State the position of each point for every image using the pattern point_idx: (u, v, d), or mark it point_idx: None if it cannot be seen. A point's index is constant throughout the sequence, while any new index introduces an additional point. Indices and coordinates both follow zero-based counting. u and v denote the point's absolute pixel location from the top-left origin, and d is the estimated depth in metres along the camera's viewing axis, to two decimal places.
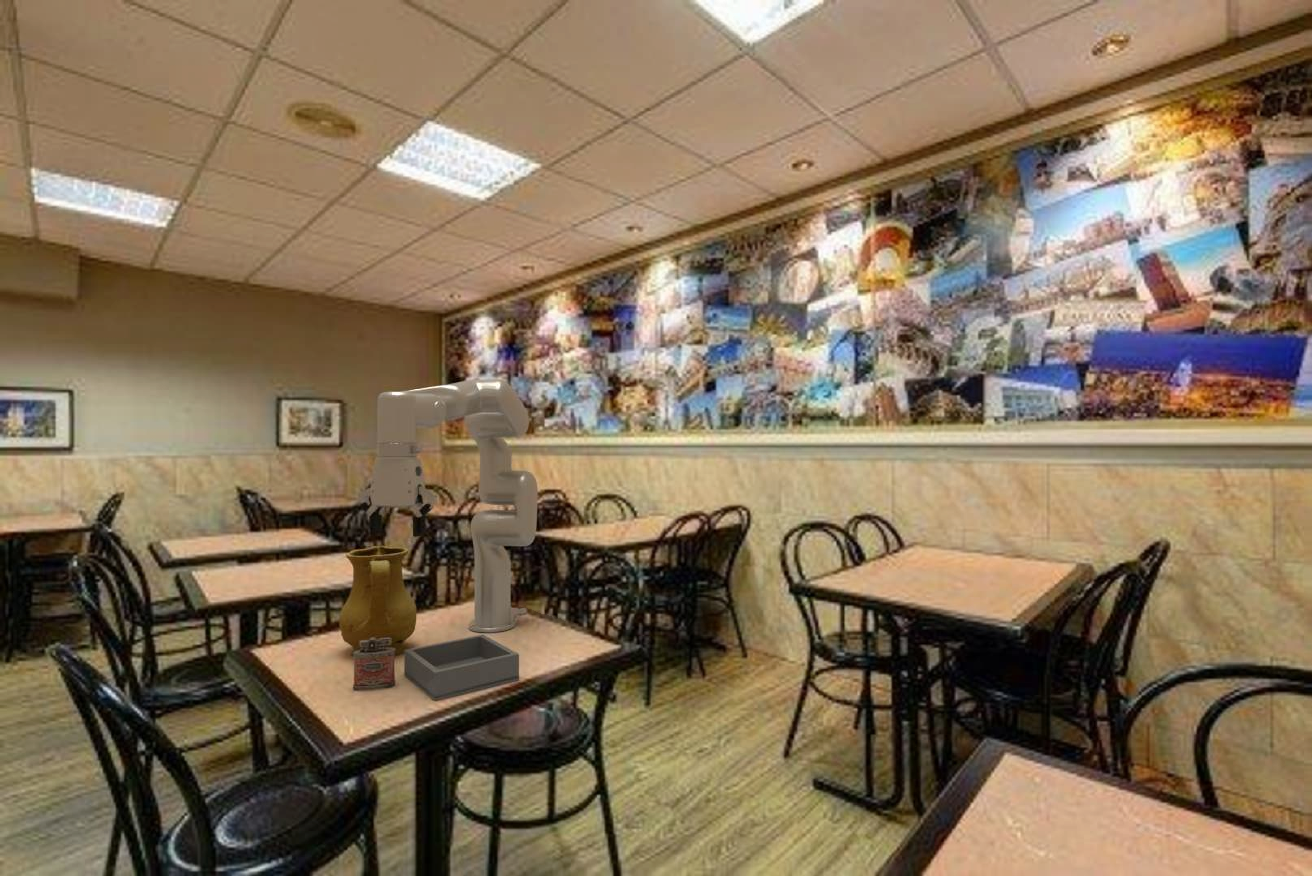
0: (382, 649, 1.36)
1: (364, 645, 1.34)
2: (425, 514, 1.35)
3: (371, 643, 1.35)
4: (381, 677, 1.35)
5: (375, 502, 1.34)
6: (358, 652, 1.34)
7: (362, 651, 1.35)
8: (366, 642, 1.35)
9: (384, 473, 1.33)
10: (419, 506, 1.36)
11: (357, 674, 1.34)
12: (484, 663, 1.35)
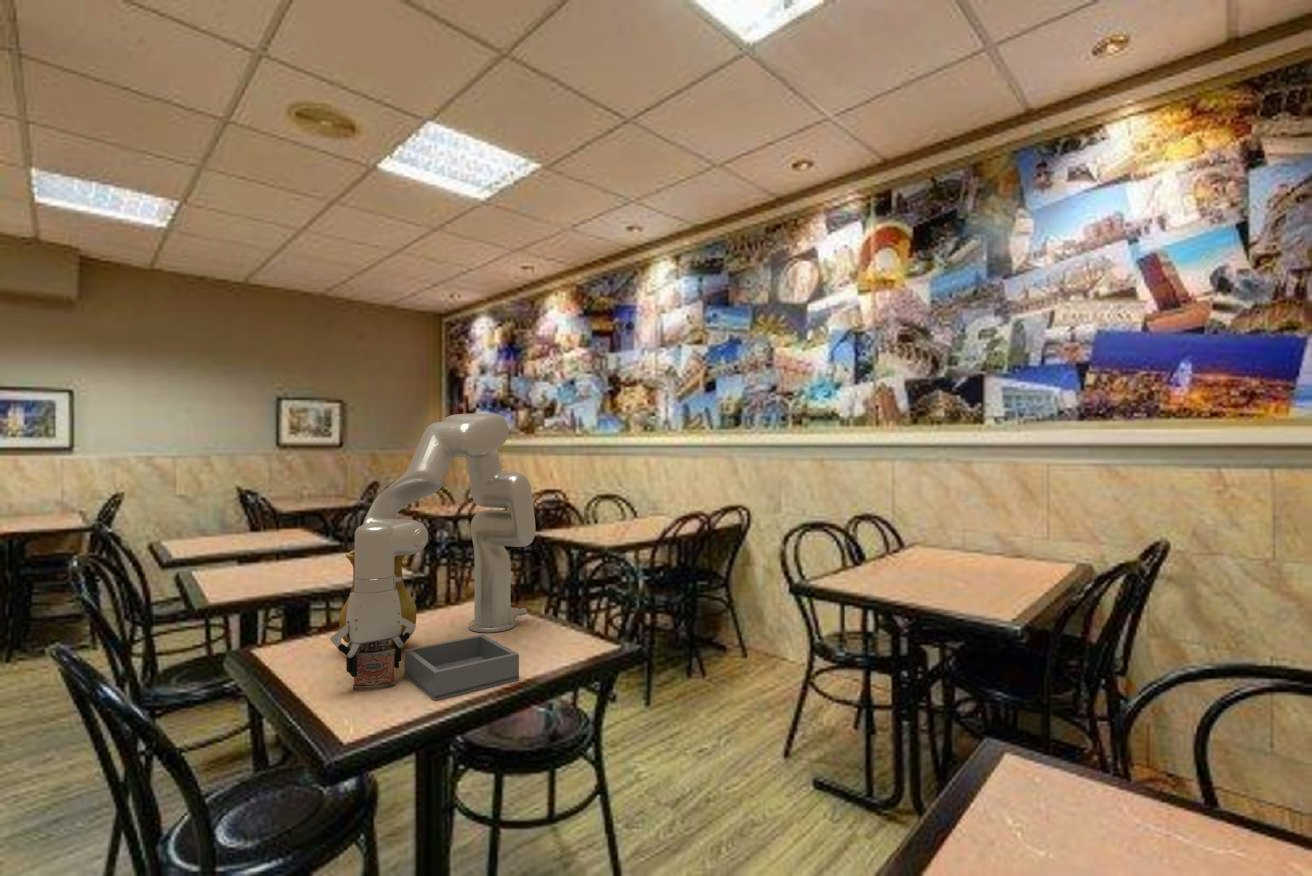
0: (382, 649, 1.36)
1: (364, 645, 1.34)
2: None
3: (371, 643, 1.35)
4: (381, 677, 1.35)
5: (358, 640, 1.32)
6: (358, 652, 1.34)
7: (362, 651, 1.35)
8: None
9: (371, 609, 1.33)
10: None
11: (357, 674, 1.34)
12: (484, 663, 1.35)
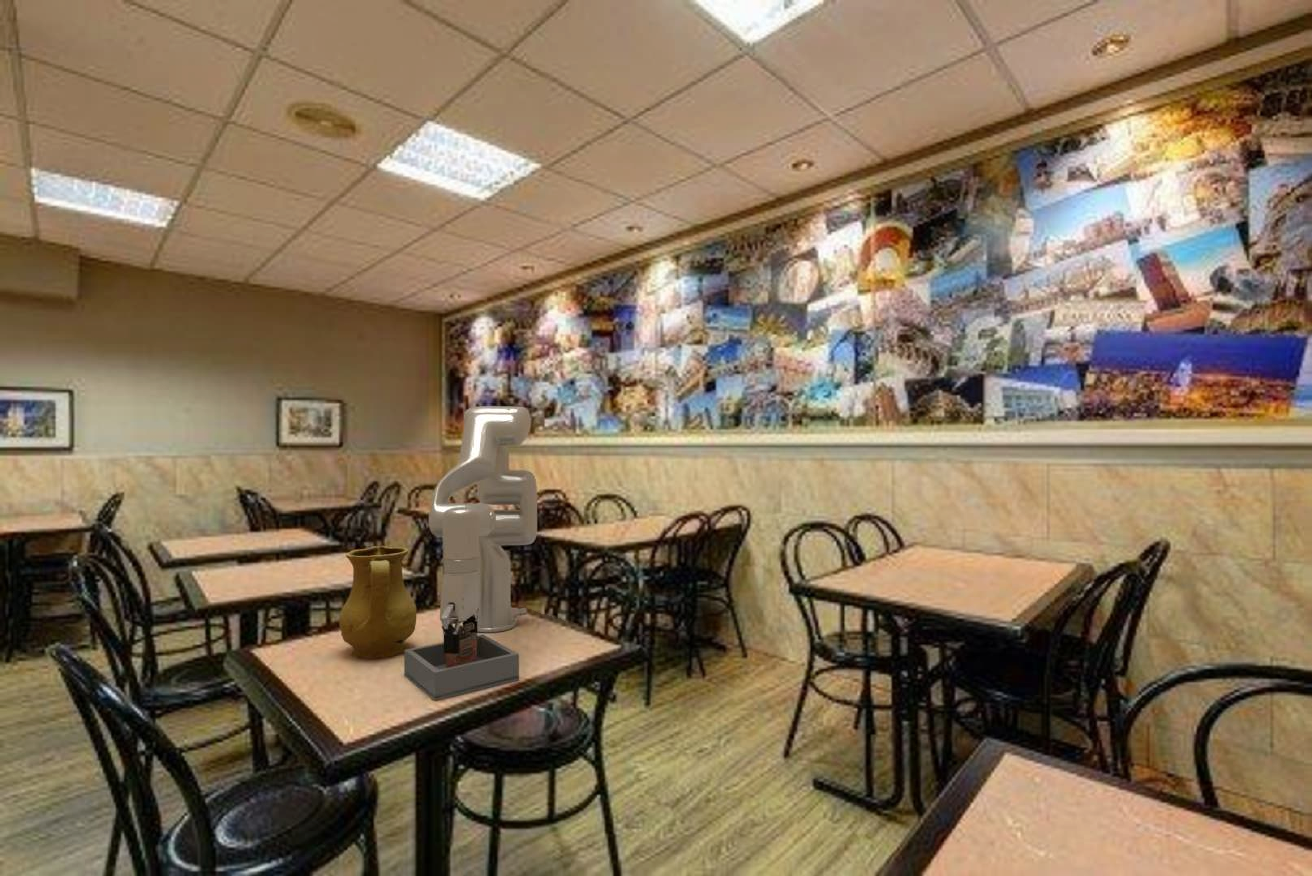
0: (468, 634, 1.42)
1: (457, 633, 1.39)
2: None
3: (462, 630, 1.41)
4: (471, 660, 1.42)
5: (463, 618, 1.37)
6: None
7: None
8: (458, 630, 1.40)
9: (469, 587, 1.39)
10: None
11: (454, 662, 1.38)
12: (484, 663, 1.35)
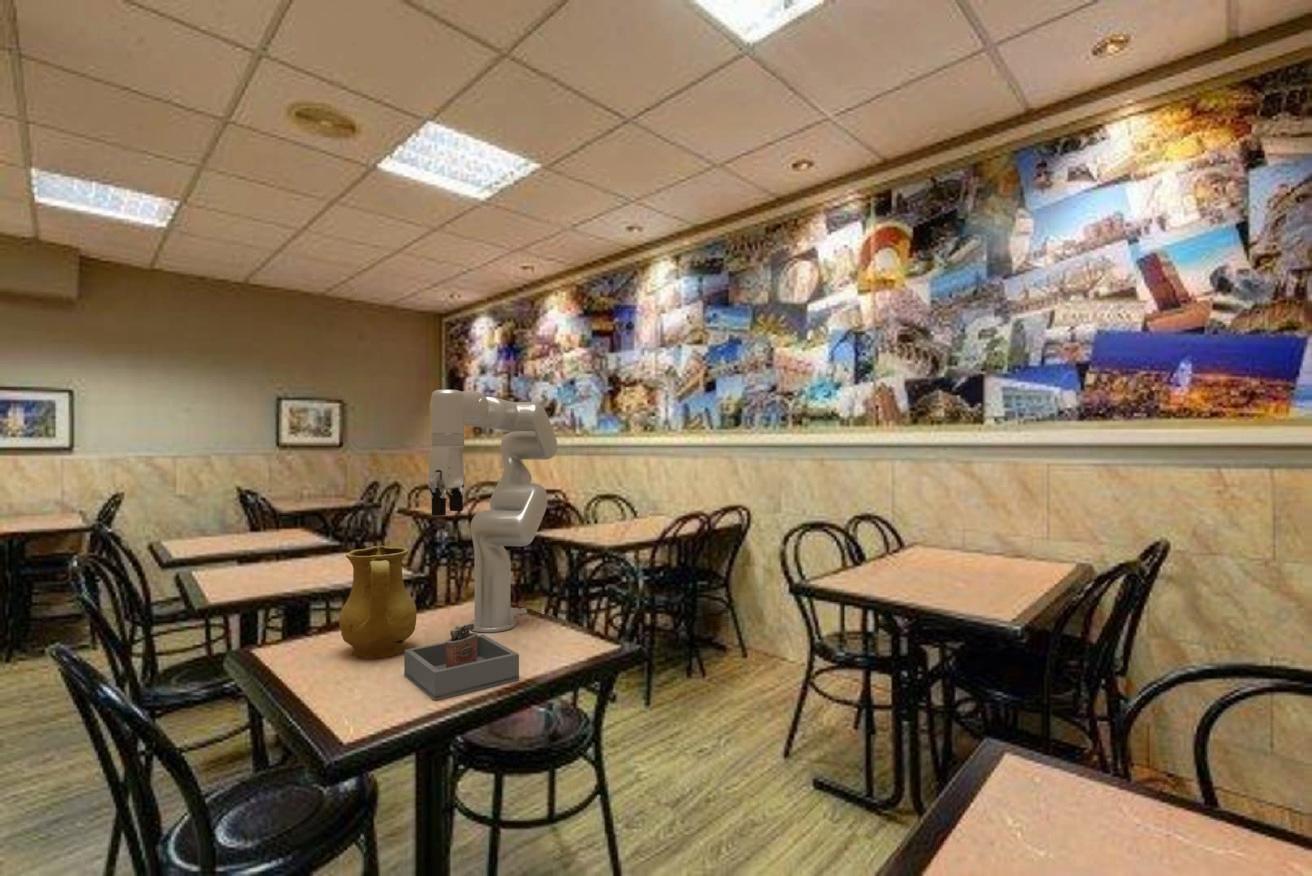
0: (468, 634, 1.42)
1: (457, 633, 1.39)
2: None
3: (462, 630, 1.40)
4: (471, 660, 1.42)
5: (449, 485, 1.54)
6: (451, 641, 1.38)
7: (455, 639, 1.39)
8: (458, 630, 1.40)
9: (455, 459, 1.56)
10: None
11: (454, 662, 1.38)
12: (484, 663, 1.35)
